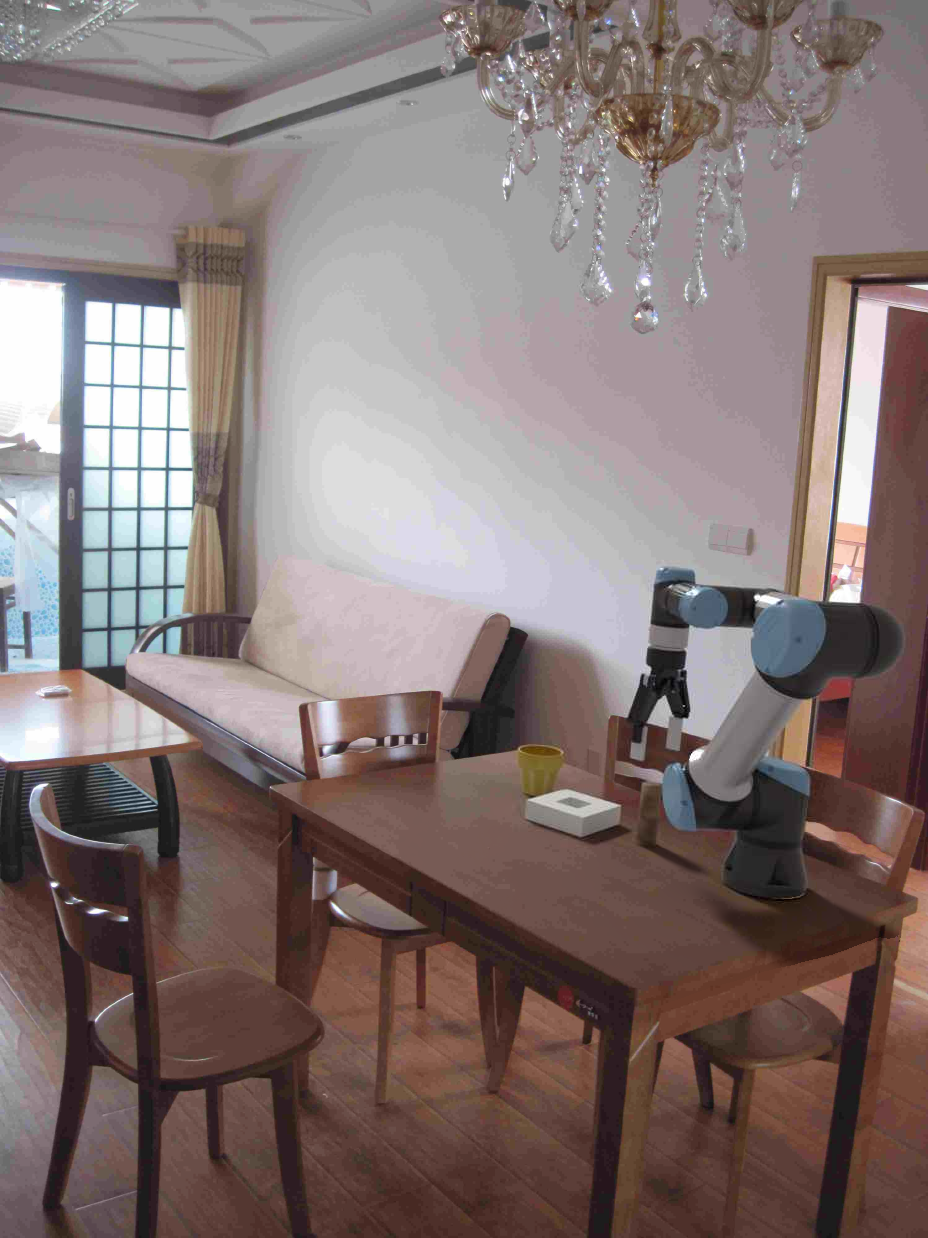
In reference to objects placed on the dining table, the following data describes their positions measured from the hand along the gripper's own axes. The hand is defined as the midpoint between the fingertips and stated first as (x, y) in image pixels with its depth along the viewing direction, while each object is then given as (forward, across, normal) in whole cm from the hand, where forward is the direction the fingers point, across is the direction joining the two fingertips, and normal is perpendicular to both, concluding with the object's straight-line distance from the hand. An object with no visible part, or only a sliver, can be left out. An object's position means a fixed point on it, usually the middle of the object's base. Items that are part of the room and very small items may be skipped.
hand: (655, 754), depth 225 cm
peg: (+18, 0, 0) cm, 18 cm away
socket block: (+18, +1, -17) cm, 25 cm away
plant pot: (+18, -10, -34) cm, 40 cm away
